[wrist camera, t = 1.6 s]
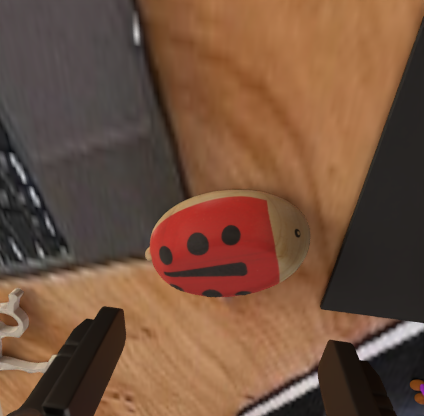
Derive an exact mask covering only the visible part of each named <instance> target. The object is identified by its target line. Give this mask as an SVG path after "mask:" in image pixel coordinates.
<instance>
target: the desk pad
mask: <svg viewBox="0 0 424 416" xmlns="http://www.w3.org/2000/svg"><path fill="white" fill-rule="evenodd" d="M320 307H321V309H324V310H331V311H338V312H346V313H353V314H361V315H368V316H375V317H383V318H390V319H398V320H405V321H413V322H420V323H424V17H423V20H422V23H421V26H420V29H419V31H418V34H417V37H416V40H415V43H414V45H413V48H412V51H411V54H410V57H409V59H408V62H407V65H406V68H405V71H404V73H403V76H402V79H401V82H400V84H399V87H398V90H397V93H396V96H395V98H394V101H393V104H392V107H391V110H390V112H389V115H388V118H387V121H386V124H385V126H384V129H383V132H382V135H381V138H380V140H379V143H378V146H377V149H376V152H375V154H374V157H373V160H372V163H371V166H370V168H369V171H368V174H367V177H366V180H365V182H364V185H363V188H362V191H361V194H360V196H359V199H358V202H357V205H356V208H355V210H354V213H353V216H352V219H351V221H350V224H349V227H348V230H347V233H346V235H345V238H344V241H343V244H342V247H341V249H340V252H339V255H338V258H337V261H336V263H335V266H334V269H333V272H332V275H331V277H330V280H329V283H328V286H327V289H326V291H325V294H324V297H323V300H322V303H321V305H320Z"/></svg>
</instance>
